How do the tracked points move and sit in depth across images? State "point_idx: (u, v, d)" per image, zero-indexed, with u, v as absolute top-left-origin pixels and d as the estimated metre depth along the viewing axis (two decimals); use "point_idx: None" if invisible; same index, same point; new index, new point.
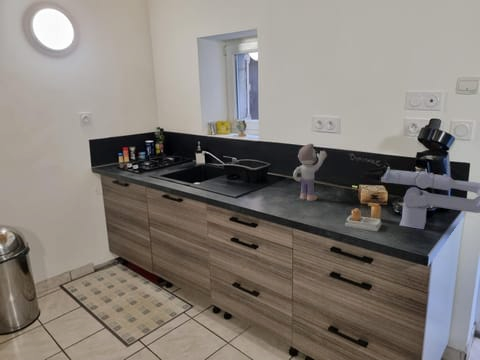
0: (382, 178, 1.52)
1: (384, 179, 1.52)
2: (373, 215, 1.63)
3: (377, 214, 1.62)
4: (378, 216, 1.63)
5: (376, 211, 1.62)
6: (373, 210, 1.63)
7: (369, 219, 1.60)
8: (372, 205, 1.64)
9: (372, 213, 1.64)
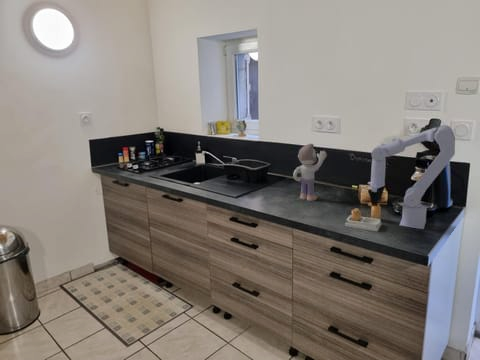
0: (372, 190, 1.55)
1: (373, 188, 1.55)
2: (373, 215, 1.63)
3: (377, 214, 1.62)
4: (378, 216, 1.63)
5: (376, 211, 1.62)
6: (373, 210, 1.63)
7: (369, 219, 1.60)
8: (372, 205, 1.64)
9: (372, 213, 1.64)
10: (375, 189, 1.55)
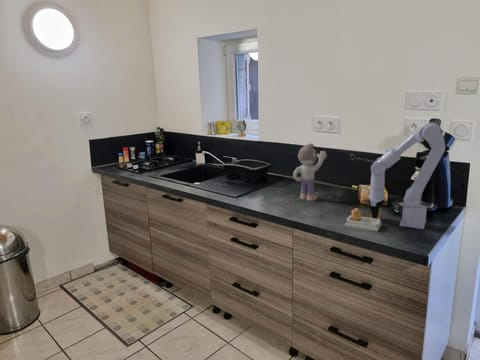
0: (372, 204, 1.57)
1: (372, 203, 1.57)
2: None
3: None
4: (378, 216, 1.63)
5: None
6: None
7: (369, 219, 1.60)
8: None
9: None
10: (374, 203, 1.56)
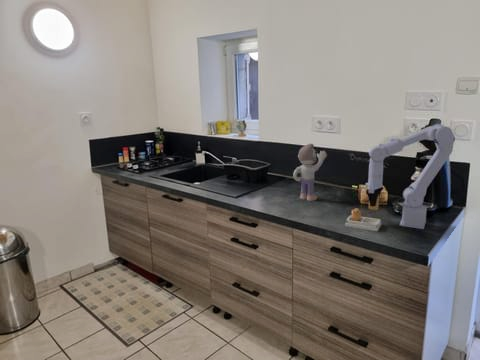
0: (369, 191, 1.52)
1: (370, 190, 1.51)
2: None
3: None
4: (376, 204, 1.58)
5: None
6: None
7: (369, 219, 1.60)
8: None
9: None
10: (372, 190, 1.51)
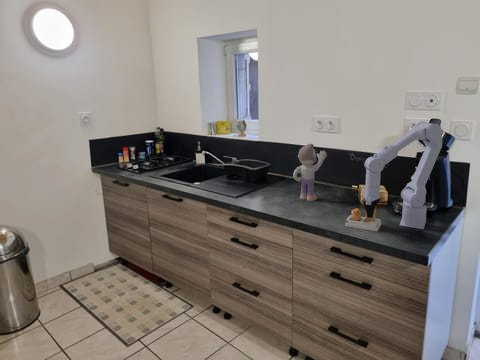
0: (366, 203, 1.49)
1: (367, 201, 1.48)
2: None
3: None
4: (373, 216, 1.55)
5: None
6: None
7: None
8: None
9: None
10: (369, 202, 1.48)
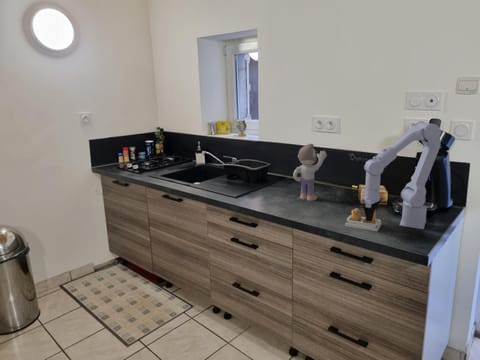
0: (366, 206, 1.49)
1: (367, 204, 1.49)
2: None
3: None
4: (373, 220, 1.55)
5: None
6: None
7: None
8: None
9: None
10: (369, 205, 1.48)
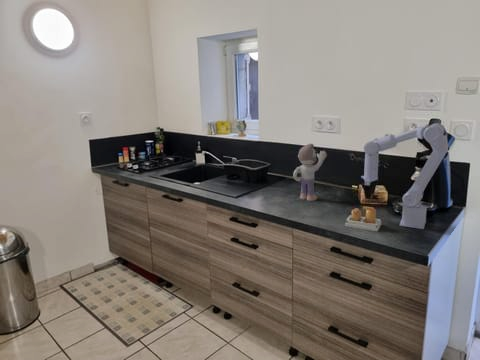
0: (365, 184, 1.59)
1: (366, 182, 1.58)
2: (368, 219, 1.56)
3: (372, 218, 1.55)
4: (373, 220, 1.55)
5: (371, 214, 1.55)
6: (368, 214, 1.55)
7: None
8: (367, 208, 1.56)
9: (367, 217, 1.56)
10: (368, 182, 1.58)
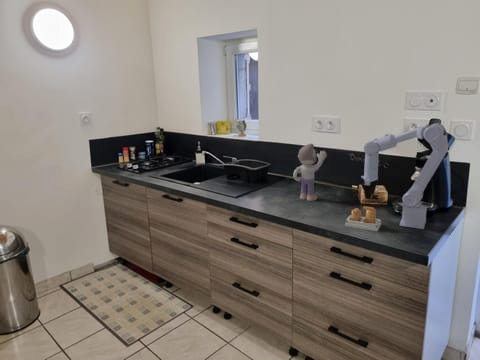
0: (365, 184, 1.59)
1: (366, 182, 1.58)
2: (368, 219, 1.56)
3: (372, 218, 1.55)
4: (373, 220, 1.55)
5: (371, 214, 1.54)
6: (368, 214, 1.55)
7: None
8: (367, 208, 1.56)
9: (367, 217, 1.56)
10: (368, 182, 1.58)
